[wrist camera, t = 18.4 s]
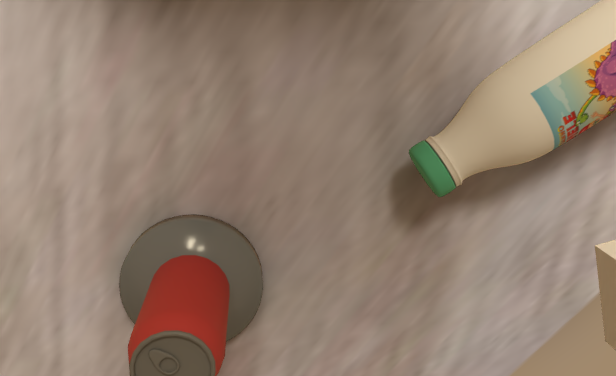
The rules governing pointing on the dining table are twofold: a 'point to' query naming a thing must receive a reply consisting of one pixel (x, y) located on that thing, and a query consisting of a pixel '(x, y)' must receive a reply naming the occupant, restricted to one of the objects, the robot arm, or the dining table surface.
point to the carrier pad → (202, 242)
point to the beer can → (182, 321)
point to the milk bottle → (529, 103)
